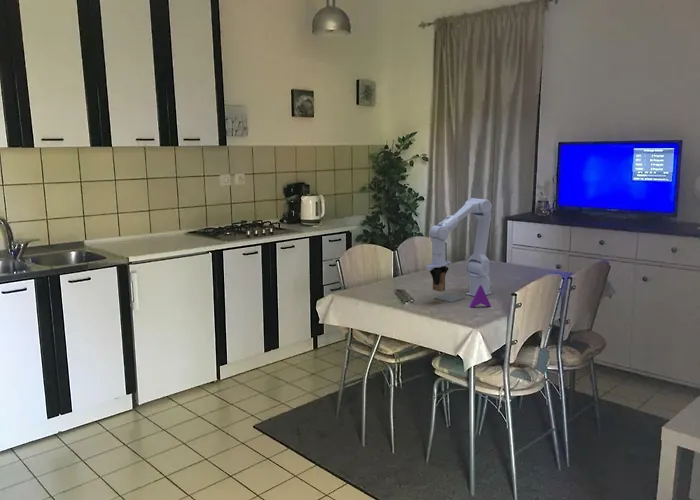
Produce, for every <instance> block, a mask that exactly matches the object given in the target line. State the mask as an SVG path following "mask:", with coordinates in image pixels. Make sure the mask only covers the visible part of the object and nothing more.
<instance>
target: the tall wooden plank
mask: <svg viewBox="0 0 700 500" xmlns="http://www.w3.org/2000/svg"><path fill="white" fill-rule="evenodd" d="M432 290H433V291H437V292H445V291H446V275H445V273H444V272H441V274H440V279H439V285H435V284H434V281H433V280H432Z"/></svg>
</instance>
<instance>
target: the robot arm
mask: <svg viewBox="0 0 700 500" xmlns="http://www.w3.org/2000/svg"><path fill="white" fill-rule="evenodd" d="M492 208H493V204H492V203H491V201H490V200H489V199H486V198H475V197H469V199H467V200H466V201H465V203H464V204H463V206H462V207H461V208H459V210H457V211H456V212H455V213H454V214H453V215H450V214H449V215H446V216H445V218H444V219H443V220H442V221H440V222H438V224H437V225H433V226H432V227H431V228H430V230H429V232H428V235H429V238H430V242H431V262H429V263H430V264H428V265H425V270H426V271H429V273H430V275H431V278H432V282H433V281H434V284H435V285H439V279H440V274H441V272H444V273H445V276H446V274H447V273H448V271H449V267H448V266H452V261H451V260H446V240H447V239H448V237H449V234H450V232H452V231H454V230H455V228H456V227H458V225H459V222H460V221H462V220H463V219H464V218H465V217H467V216H469V215H470V214H473V216H475V218H476V219H477V226H476V233H475V241H474V247H473V254H471V255H470V256H468V260H467V262H466V265H465V269H466V272H467V273H468V275H469V292H466V293H465V295H468V296H473V297H474V296H475V294H476V292H477V290H478V288H479V286H480V285H481V286H482V288H483V290H484V292H485V294H486V296H487V295H490V294H492V291H491V279H490V276H489V273H490V271H491V268H490V267H491V266H490V259H489V258H488V257H487V249H488V241H489V234H490V229H491V228H490V227H491V223H492Z"/></svg>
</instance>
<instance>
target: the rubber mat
mask: <svg viewBox="0 0 700 500" xmlns="http://www.w3.org/2000/svg"><path fill="white" fill-rule="evenodd" d="M433 299H434V300H438V301H442V302H447V303H455V302H458V301H461V300H464V299H466V296H463V295H456V294H452V293H445V294H441V295H438V296H435V297H433Z"/></svg>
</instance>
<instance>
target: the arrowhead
mask: <svg viewBox="0 0 700 500" xmlns="http://www.w3.org/2000/svg"><path fill="white" fill-rule="evenodd" d="M480 304H481V305H483V306H487V307H489V308H492V305H491V303H490V300H489V298H488V297H487V295H486V294H485V292H484V290H483V288H482V286H481V285H480V286H479V288H478V290H477V292H476V294H475V296H473V298H472V301H470V305H469V308H470V309H471V308H472V309H473V308H474V307H477V306H478V305H480Z"/></svg>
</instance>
